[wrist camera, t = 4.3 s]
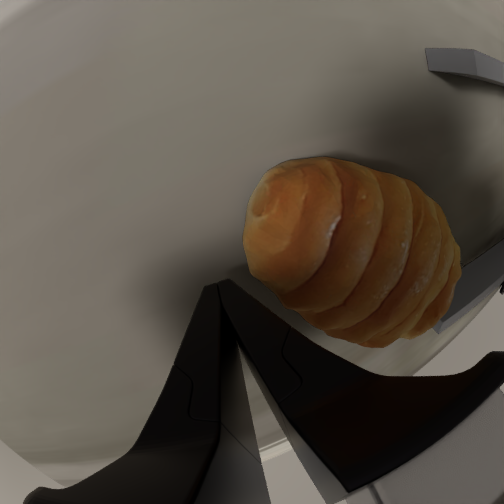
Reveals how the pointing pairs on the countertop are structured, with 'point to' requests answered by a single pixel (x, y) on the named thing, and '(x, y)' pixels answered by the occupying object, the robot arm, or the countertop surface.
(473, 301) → the dock
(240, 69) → the countertop surface
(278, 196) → the pastry
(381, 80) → the countertop surface
